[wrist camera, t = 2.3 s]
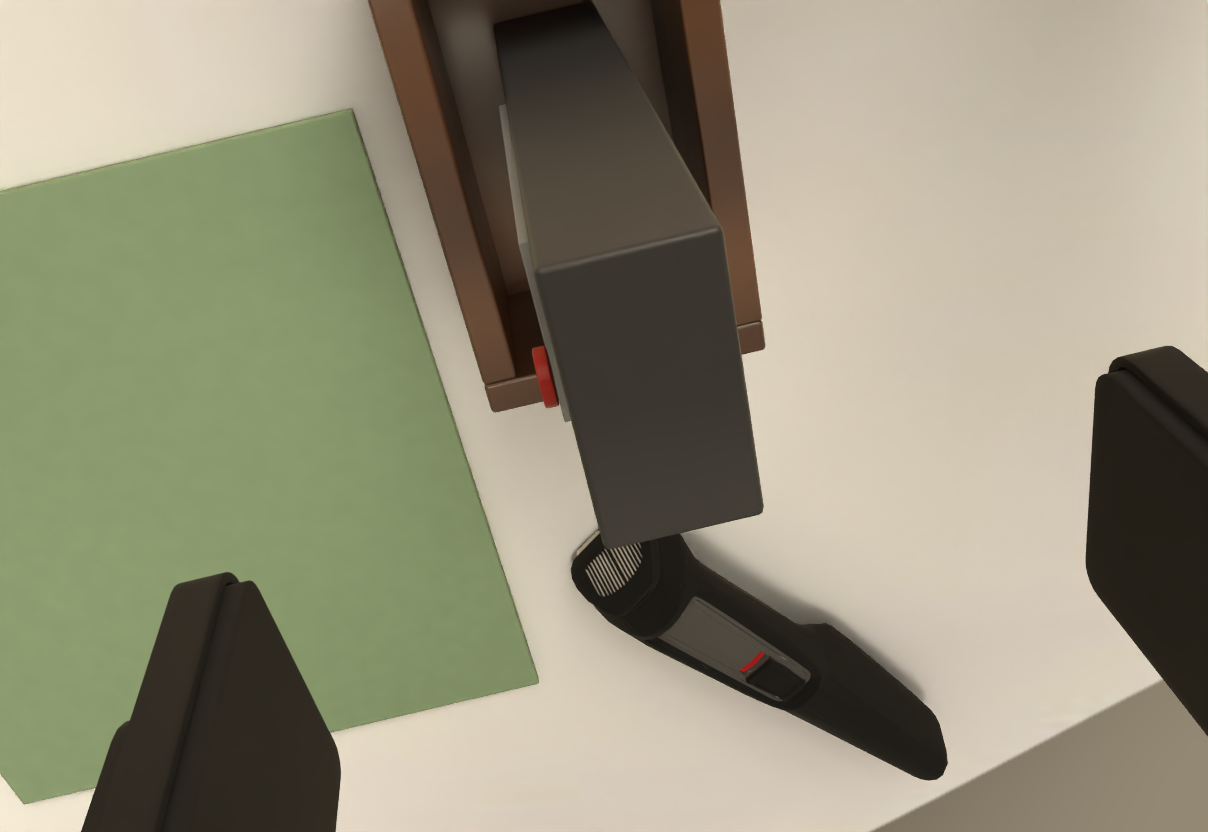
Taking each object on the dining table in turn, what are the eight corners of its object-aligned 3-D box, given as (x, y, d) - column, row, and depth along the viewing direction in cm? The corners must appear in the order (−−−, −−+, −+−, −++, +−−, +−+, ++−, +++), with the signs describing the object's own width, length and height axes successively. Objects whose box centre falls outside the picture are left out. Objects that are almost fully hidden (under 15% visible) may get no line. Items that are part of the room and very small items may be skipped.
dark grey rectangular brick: (477, 26, 25) (504, 276, 13) (592, -1, 25) (723, 225, 13) (523, 210, 27) (581, 559, 16) (628, 185, 27) (765, 515, 16)
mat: (-370, 278, 26) (-378, 283, 26) (351, 108, 26) (351, 111, 26) (26, 797, 37) (23, 804, 37) (538, 677, 37) (538, 683, 37)
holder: (365, -99, 24) (347, -65, 20) (655, -168, 24) (700, -148, 20) (485, 317, 30) (492, 415, 25) (720, 262, 30) (767, 350, 25)
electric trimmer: (871, 744, 41) (901, 814, 39) (559, 566, 34) (570, 635, 32) (945, 685, 40) (981, 752, 37) (637, 487, 33) (655, 552, 31)
